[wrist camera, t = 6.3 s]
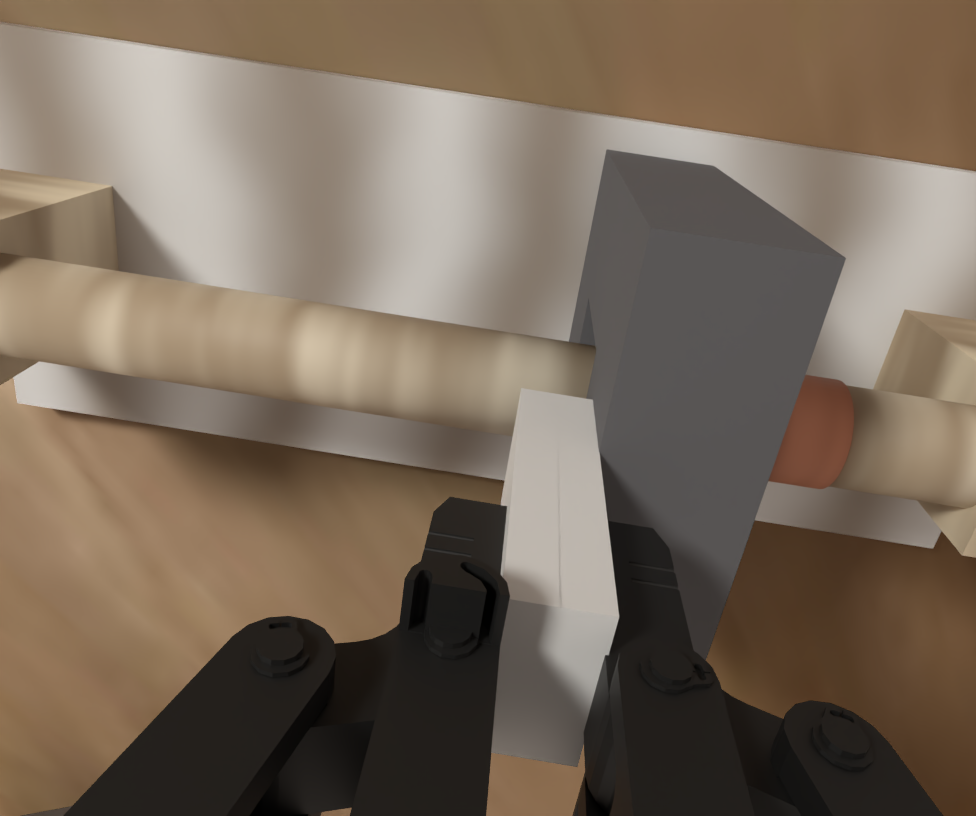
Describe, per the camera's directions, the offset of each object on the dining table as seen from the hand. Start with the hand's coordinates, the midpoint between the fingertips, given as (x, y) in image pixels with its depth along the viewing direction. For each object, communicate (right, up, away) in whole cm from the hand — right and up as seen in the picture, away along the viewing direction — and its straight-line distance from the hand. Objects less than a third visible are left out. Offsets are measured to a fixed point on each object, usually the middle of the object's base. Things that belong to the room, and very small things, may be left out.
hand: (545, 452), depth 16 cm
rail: (-1, +4, +9) cm, 10 cm away
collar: (+3, +3, +7) cm, 9 cm away
